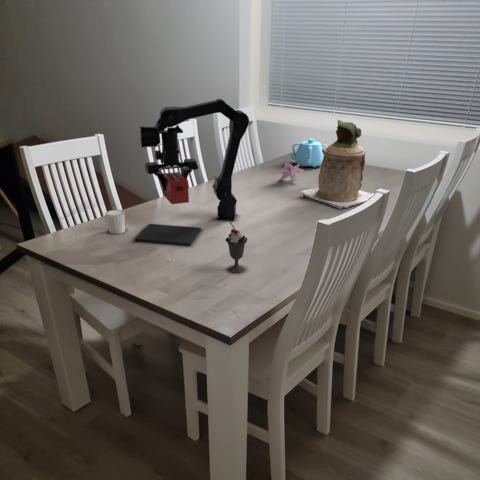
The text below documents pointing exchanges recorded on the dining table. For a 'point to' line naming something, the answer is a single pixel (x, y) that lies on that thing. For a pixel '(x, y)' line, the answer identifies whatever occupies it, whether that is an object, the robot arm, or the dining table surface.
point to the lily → (290, 171)
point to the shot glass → (116, 221)
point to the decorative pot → (308, 153)
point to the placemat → (168, 234)
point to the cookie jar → (341, 170)
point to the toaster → (176, 188)
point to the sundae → (236, 248)
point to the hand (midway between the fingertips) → (173, 189)
